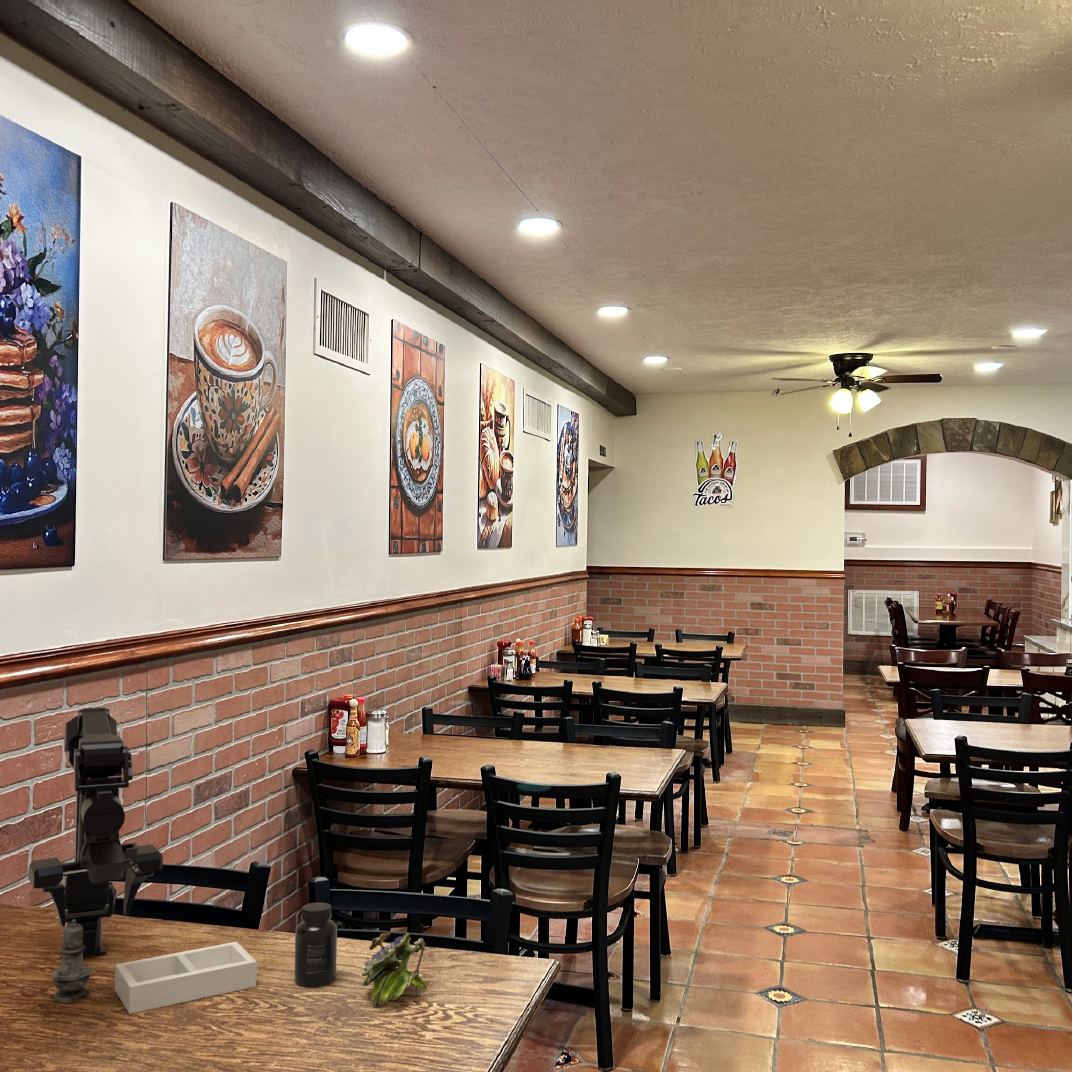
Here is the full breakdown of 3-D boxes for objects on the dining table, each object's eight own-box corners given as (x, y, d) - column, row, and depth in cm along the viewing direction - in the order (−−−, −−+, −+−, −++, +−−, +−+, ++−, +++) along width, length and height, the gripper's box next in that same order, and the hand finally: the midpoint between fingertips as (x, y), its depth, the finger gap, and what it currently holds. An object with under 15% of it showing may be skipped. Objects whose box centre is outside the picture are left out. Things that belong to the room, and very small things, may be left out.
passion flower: (377, 1021, 166) (388, 945, 173) (437, 1019, 163) (446, 942, 170) (343, 1003, 158) (356, 924, 165) (406, 1001, 154) (416, 920, 162)
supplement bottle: (343, 975, 171) (345, 903, 171) (322, 990, 165) (324, 915, 165) (308, 969, 173) (310, 898, 174) (285, 984, 167) (287, 910, 167)
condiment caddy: (114, 989, 163) (115, 964, 163) (235, 965, 174) (236, 941, 174) (129, 1013, 155) (130, 987, 155) (256, 986, 166) (256, 961, 166)
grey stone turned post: (75, 1005, 157) (78, 926, 158) (42, 1001, 159) (45, 923, 159) (99, 989, 163) (101, 914, 164) (66, 986, 164) (69, 910, 165)
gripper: (42, 842, 147) (38, 950, 147) (174, 825, 158) (170, 926, 158) (29, 823, 156) (25, 925, 156) (154, 808, 167) (151, 903, 167)
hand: (94, 920), depth 159 cm, fingers open, 9 cm apart
